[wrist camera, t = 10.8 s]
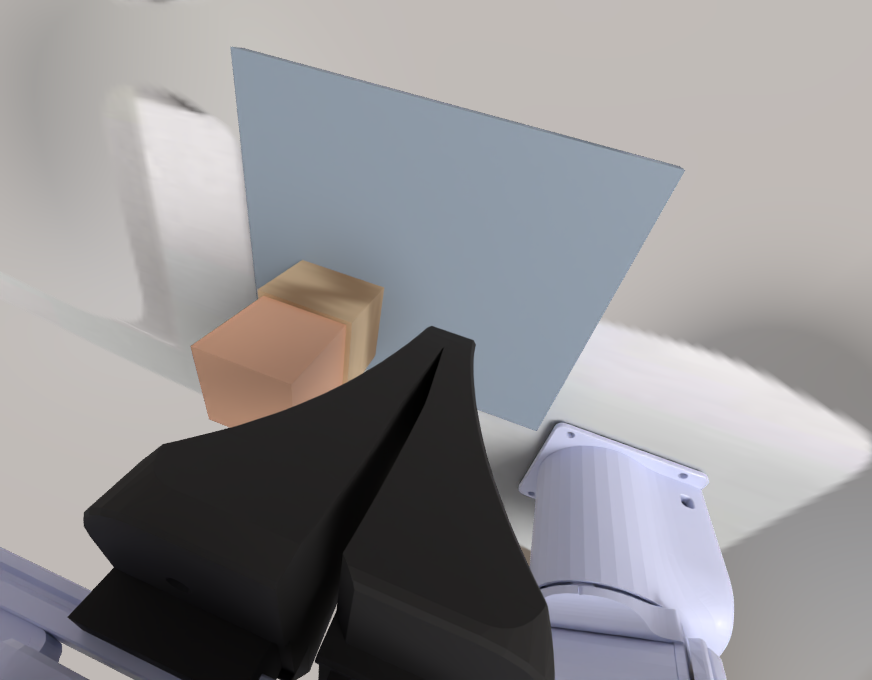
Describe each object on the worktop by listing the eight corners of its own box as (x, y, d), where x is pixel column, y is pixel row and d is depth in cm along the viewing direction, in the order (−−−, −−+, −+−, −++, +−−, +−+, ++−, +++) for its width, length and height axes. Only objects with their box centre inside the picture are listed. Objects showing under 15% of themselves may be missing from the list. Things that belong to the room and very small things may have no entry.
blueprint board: (680, 166, 15) (685, 170, 15) (537, 422, 25) (536, 431, 24) (242, 47, 17) (230, 46, 17) (267, 324, 27) (260, 330, 26)
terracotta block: (346, 324, 18) (291, 384, 15) (342, 390, 21) (294, 453, 18) (263, 295, 19) (190, 346, 15) (269, 362, 22) (209, 419, 18)
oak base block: (384, 287, 21) (351, 323, 18) (375, 355, 25) (346, 396, 21) (302, 259, 22) (257, 289, 19) (303, 330, 25) (265, 365, 22)
